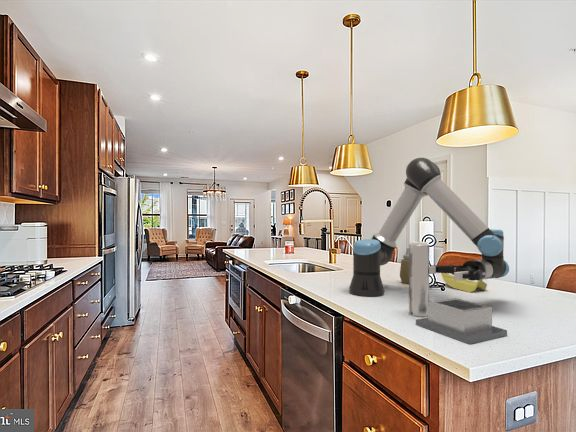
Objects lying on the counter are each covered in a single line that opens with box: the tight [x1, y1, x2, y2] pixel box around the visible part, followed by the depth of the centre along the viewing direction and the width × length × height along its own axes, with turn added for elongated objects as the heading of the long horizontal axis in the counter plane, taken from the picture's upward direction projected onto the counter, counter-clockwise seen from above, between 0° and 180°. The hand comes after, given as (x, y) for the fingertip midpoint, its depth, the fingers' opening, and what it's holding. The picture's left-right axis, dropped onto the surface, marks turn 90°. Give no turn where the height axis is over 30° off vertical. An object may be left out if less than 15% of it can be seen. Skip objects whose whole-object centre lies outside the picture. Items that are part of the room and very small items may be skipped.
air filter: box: [408, 241, 430, 318], centre depth 114 cm, size 6×6×25 cm
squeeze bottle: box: [399, 247, 409, 285], centre depth 171 cm, size 8×8×18 cm
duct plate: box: [415, 297, 508, 345], centre depth 98 cm, size 18×16×8 cm
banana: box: [440, 273, 488, 293], centre depth 160 cm, size 20×7×10 cm
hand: (437, 273), depth 118 cm, fingers open, 13 cm apart
